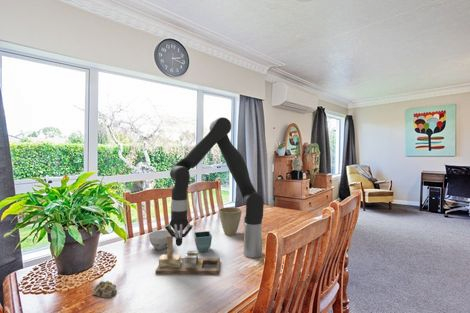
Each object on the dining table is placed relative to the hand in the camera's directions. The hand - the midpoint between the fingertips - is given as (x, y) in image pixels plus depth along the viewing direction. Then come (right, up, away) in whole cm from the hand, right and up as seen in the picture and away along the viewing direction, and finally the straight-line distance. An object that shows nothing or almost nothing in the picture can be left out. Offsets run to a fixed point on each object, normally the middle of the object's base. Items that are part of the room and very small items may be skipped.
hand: (179, 245), depth 119 cm
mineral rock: (-24, -11, -20) cm, 33 cm away
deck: (+5, -11, 0) cm, 12 cm away
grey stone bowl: (-15, -10, +24) cm, 30 cm away
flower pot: (+8, -10, +21) cm, 24 cm away
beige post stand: (-4, -9, 0) cm, 10 cm away
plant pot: (+23, -9, +48) cm, 54 cm away
